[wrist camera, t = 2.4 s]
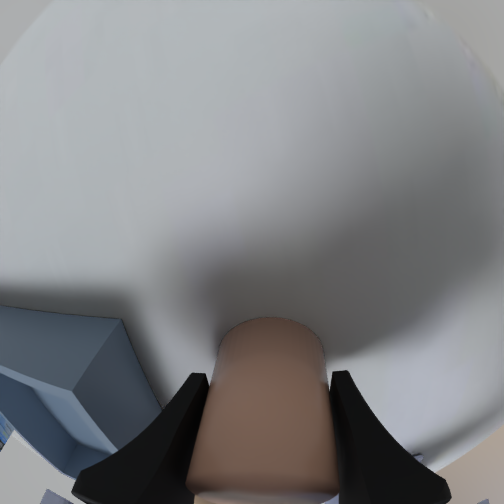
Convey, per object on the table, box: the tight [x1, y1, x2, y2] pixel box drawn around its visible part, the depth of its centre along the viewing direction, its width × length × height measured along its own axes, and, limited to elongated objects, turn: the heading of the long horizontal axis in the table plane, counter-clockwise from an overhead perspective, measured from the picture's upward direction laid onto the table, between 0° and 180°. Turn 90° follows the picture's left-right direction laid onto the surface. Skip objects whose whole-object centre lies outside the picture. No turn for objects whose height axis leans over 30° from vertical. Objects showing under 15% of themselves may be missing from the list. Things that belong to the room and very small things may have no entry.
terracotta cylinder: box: [185, 317, 340, 504], centre depth 10 cm, size 5×5×7 cm
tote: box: [0, 306, 162, 480], centre depth 15 cm, size 15×19×5 cm
